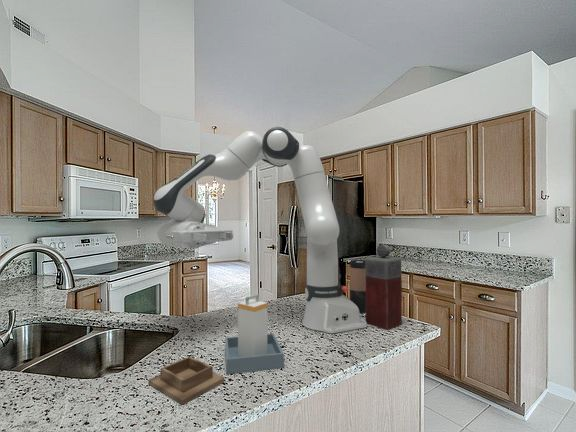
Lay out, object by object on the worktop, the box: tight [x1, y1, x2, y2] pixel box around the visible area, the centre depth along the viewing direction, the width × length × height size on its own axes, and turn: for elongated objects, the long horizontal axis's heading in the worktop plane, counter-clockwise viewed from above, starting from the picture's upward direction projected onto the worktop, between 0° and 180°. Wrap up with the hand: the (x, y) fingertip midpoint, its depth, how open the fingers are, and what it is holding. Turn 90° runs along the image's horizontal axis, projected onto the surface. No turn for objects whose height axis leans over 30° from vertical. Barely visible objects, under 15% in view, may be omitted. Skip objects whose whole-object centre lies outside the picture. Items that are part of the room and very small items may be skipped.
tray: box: [224, 333, 285, 375], centre depth 83 cm, size 14×14×4 cm
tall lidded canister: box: [237, 293, 268, 357], centre depth 83 cm, size 6×5×16 cm
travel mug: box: [349, 259, 366, 314], centre depth 125 cm, size 8×8×20 cm
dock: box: [147, 356, 226, 406], centre depth 70 cm, size 13×11×4 cm
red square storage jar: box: [365, 244, 403, 331], centre depth 110 cm, size 9×11×28 cm
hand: (220, 236), depth 93 cm, fingers open, 8 cm apart
